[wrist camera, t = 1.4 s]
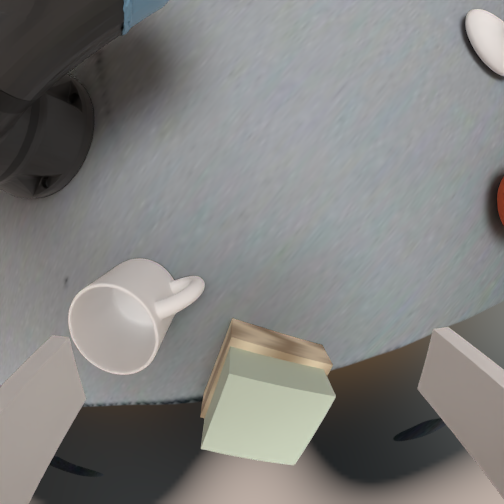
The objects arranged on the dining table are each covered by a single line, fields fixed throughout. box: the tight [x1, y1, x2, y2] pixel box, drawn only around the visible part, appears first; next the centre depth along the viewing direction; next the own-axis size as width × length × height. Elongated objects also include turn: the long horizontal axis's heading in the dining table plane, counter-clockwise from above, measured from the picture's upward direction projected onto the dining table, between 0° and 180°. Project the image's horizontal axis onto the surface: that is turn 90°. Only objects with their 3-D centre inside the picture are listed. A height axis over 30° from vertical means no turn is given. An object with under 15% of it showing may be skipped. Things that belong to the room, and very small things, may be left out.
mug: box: [68, 258, 205, 375], centre depth 28 cm, size 12×8×10 cm
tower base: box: [200, 318, 333, 418], centre depth 34 cm, size 11×11×5 cm
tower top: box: [201, 346, 336, 465], centre depth 29 cm, size 10×10×5 cm
